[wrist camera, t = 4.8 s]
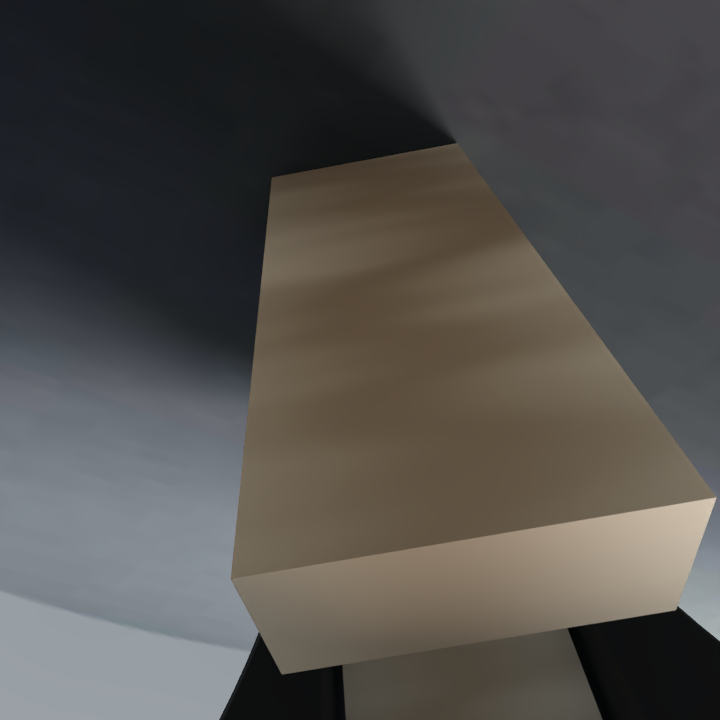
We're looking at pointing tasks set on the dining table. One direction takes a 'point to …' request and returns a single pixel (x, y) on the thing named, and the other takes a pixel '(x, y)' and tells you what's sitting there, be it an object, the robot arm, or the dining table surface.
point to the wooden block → (475, 682)
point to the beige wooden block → (440, 431)
